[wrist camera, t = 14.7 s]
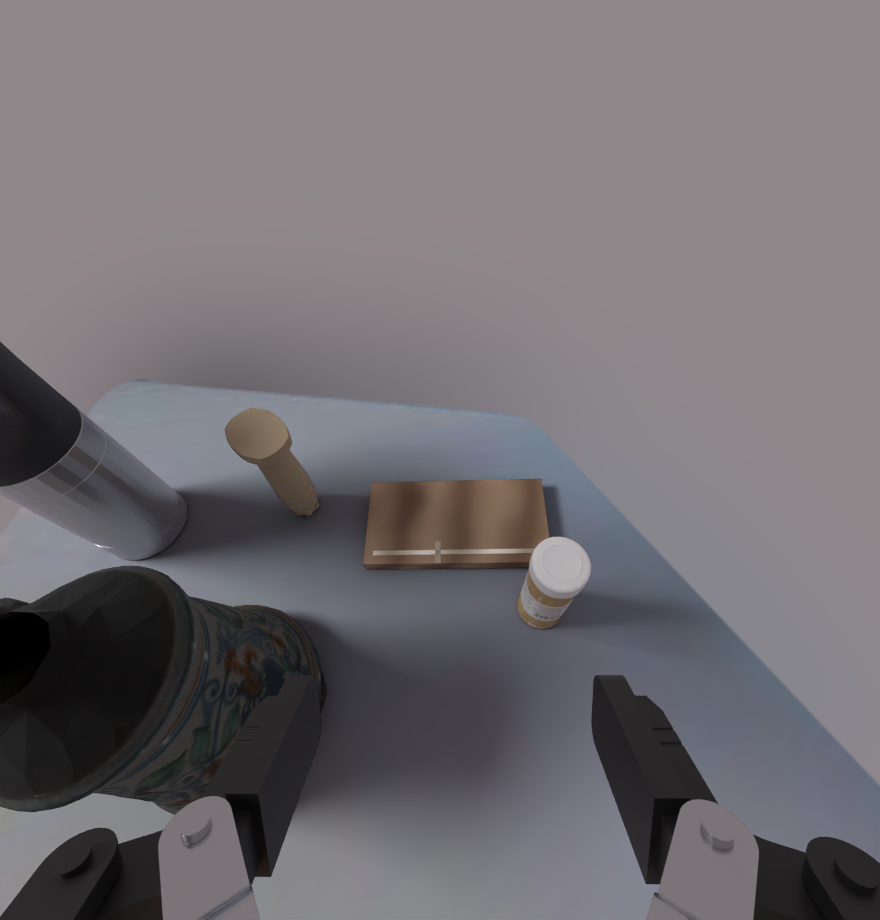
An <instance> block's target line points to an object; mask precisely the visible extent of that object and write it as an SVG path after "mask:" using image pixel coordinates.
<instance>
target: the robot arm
mask: <svg viewBox="0 0 880 920" xmlns="http://www.w3.org/2000/svg"><path fill="white" fill-rule="evenodd" d="M0 495H1V496H3V497H5V498H6V499H8V500H10V501H13V502H15V503H16V504H19V505H20V506H22V507H24V508H26V509H28V510H30V511H32V512H34V513H36V514H38V515H39V516H41V517H43V518H45V519H47V520H49V521H51V522H53V523H55V524H57V525H59V526H60V527H62V528H64V529H66V530H68V531H70V532H72V533H74V534H76V535H78V536H80V537H82V538H84V539H85V540H87V541H89V542H91V543H93V544H95V545H97V546H99V547H101V548H103V549H105V550H107V551H109V552H111V553H113V554H114V555H116V556H118V557H120V558H122V559H127V560H140V559H145V558H148V557H151V556H153V555H155V554H157V553H159V552H161V551H162V550H164V549H165V548H166V547H168V546H169V545H170V544H171V543H172V542H173V541H174V540H175V539H176V538H177V537H178V535H179V534H180V532H181V531H182V529H183V527H184V525H185V522H186V518H187V506H186V502H185V501H184V499H183V498H182V497H181V496H180V495H179V494H178V493H177V492H176V491H174V490H173V489H172V488H171V487H170V486H169V485H167V484H166V483H165V482H164V481H163V480H162V479H161V478H159V477H158V476H157V475H156V474H155V473H154V472H152V471H151V470H150V469H149V468H148V467H146V466H145V465H144V464H143V463H142V462H141V461H139V460H138V459H137V458H136V457H135V456H133V455H132V454H131V453H130V452H129V451H128V450H126V449H125V448H124V447H123V446H122V445H120V444H119V443H118V442H117V441H116V440H114V439H113V438H112V437H111V436H110V435H109V434H107V433H106V432H105V431H104V430H103V429H101V428H100V427H99V426H98V425H97V424H95V423H94V422H93V421H92V420H91V419H89V418H88V417H87V416H86V415H85V414H84V413H82V412H81V411H80V410H79V409H78V408H76V407H75V406H74V405H73V404H72V403H70V402H69V401H68V400H67V399H65V398H64V397H63V396H62V395H61V394H59V393H58V392H57V391H56V390H55V389H53V388H52V387H51V386H50V385H49V384H48V383H46V382H45V381H44V380H43V379H42V378H41V377H39V376H38V375H37V374H36V373H35V372H34V371H32V370H31V369H30V368H29V367H28V366H27V365H25V364H24V363H23V362H22V361H21V360H20V359H18V358H17V357H16V356H15V355H14V354H13V353H12V352H11V351H10V350H9V349H8V348H6V347H5V346H4V345H3V344H2V343H1V342H0ZM320 732H321V715H320V706H319V697H318V687H317V680H316V677H315V676H288V677H287V678H286V680H285V682H284V684H283V685H282V687H281V689H280V691H279V693H278V695H277V696H267V697H265V698H264V699H263V700H262V701H261V702H260V703H259V704H258V705H257V706H256V707H255V708H254V709H252V711H251V713H250V714H249V716H248V718H247V719H246V721H245V723H244V725H243V726H242V730H240V732H239V733H238V735H237V737H236V738H235V741H234V744H232V745H231V747H230V749H229V751H228V752H227V754H226V756H225V757H224V759H223V761H222V763H221V764H220V766H219V768H218V769H217V771H216V773H215V775H214V776H213V778H212V780H211V782H210V783H209V785H208V787H207V788H206V790H205V792H204V794H203V795H202V797H201V798H200V799H198V800H196V801H194V802H192V803H190V804H188V805H187V806H185V807H184V808H182V809H181V810H180V811H179V812H178V813H176V814H175V815H174V816H173V817H172V819H171V820H170V821H169V822H168V824H167V825H166V826H165V828H164V829H163V830H161V831H159V832H156V833H153V834H150V835H146V836H143V837H140V838H137V839H133V840H130V841H127V842H124V843H121V844H118V841H117V837H116V834H115V833H114V832H113V831H112V830H110V829H107V828H95V829H91V830H87V831H85V832H82V833H80V834H78V835H76V836H74V837H72V838H71V839H69V840H67V841H66V842H64V843H63V844H62V845H60V846H59V847H58V848H57V849H55V850H54V851H53V852H52V853H51V854H50V855H49V856H48V857H47V858H46V859H45V860H44V861H43V862H42V864H41V865H40V866H39V867H38V869H37V870H36V871H35V872H34V874H33V875H32V876H31V878H30V879H29V880H28V882H27V883H26V884H25V885H24V887H23V888H22V889H21V891H20V892H19V893H18V895H17V896H16V897H15V898H14V900H13V901H12V902H11V904H10V905H9V906H8V908H7V909H6V910H5V911H4V913H3V914H2V915H1V917H0V920H260V917H259V913H258V909H257V905H256V901H255V897H254V893H253V889H252V887H251V885H252V883H253V880H254V877H271V875H272V872H273V870H274V867H275V864H276V861H277V858H278V856H279V853H280V850H281V847H282V844H283V842H284V839H285V836H286V833H287V830H288V827H289V825H290V822H291V819H292V816H293V813H294V811H295V808H296V805H297V802H298V799H299V797H300V794H301V791H302V788H303V785H304V782H305V780H306V777H307V774H308V771H309V768H310V766H311V763H312V760H313V757H314V754H315V752H316V749H317V746H318V742H319V738H320ZM592 733H593V738H594V743H595V746H596V749H597V752H598V755H599V757H600V760H601V763H602V765H603V768H604V771H605V774H606V776H607V779H608V782H609V785H610V787H611V790H612V793H613V795H614V798H615V801H616V804H617V806H618V809H619V812H620V815H621V817H622V820H623V823H624V825H625V828H626V831H627V834H628V836H629V839H630V842H631V845H632V847H633V850H634V853H635V855H636V858H637V861H638V864H639V866H640V869H641V872H642V875H643V877H644V880H645V883H646V884H660V886H659V890H658V893H654V895H653V898H652V901H651V904H650V908H649V911H648V915H647V919H646V920H880V863H879V862H877V861H876V860H875V859H874V858H872V857H871V856H870V855H868V854H867V853H865V852H864V851H862V850H860V849H859V848H857V847H855V846H853V845H851V844H849V843H847V842H844V841H842V840H839V839H835V838H831V837H818V838H814V839H813V840H811V841H810V842H809V843H808V846H807V849H806V853H805V852H802V851H799V850H795V849H792V848H789V847H786V846H783V845H779V844H776V843H773V842H770V841H767V840H764V839H762V838H760V837H757V836H755V835H753V834H752V832H751V831H750V830H749V828H748V827H747V826H746V824H745V823H744V822H743V821H742V820H741V819H740V818H739V817H737V816H736V815H735V814H734V813H732V812H731V811H730V810H728V809H726V808H725V807H723V806H721V805H719V804H718V803H717V801H716V800H715V798H714V796H713V795H712V793H711V791H710V790H709V788H708V786H707V785H706V783H705V781H704V779H703V778H702V776H701V774H700V773H699V771H698V769H697V768H696V766H695V764H694V763H693V761H692V759H691V758H690V756H689V754H688V753H687V751H686V749H685V748H684V746H682V744H681V741H680V739H679V738H678V736H677V734H676V732H675V731H673V727H672V726H671V724H670V722H669V721H668V719H667V717H666V716H665V714H664V712H663V711H662V710H661V709H660V708H659V707H658V706H657V705H656V704H655V703H653V702H652V701H651V700H650V699H649V698H648V697H647V696H635V695H634V694H633V692H632V690H631V688H630V686H629V684H628V682H627V681H626V679H625V677H624V676H622V675H596V676H595V677H594V684H593V702H592Z"/></svg>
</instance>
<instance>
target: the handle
mask: <svg viewBox="0 0 880 920" xmlns="http://www.w3.org/2000/svg"><path fill="white" fill-rule="evenodd" d="M225 434H226V438H227V441H228V443H229V445H230V446H231V448H232V449H233V450H234V451H235V452H236V453H237V454H238V455H239V456H240V457H241V458H242V459H244V460H245V461H247V462H249V463H252V464H257V465H258V467H259V468H260V470H261V471H262V473H263V474H264V476H265V478H266V479H267V481H268V482H269V484H270V485H271V487H272V489H273V490H274V492H275V493H276V494H277V495H278V497H279V498H280V499H281V500H282V501H283V502H284V503H285V504H286V505H287V506H288V507H289V508H290V509H291V510H292V511H293V512H294V513H295V514H297V515H306V516H311V515H312V513H313V512H314V511H315V510H317V509H318V508H319V503H318V501H317V498H318V497H317V494H316V491H315V488H314V486H313V484H312V481H311V480H310V478H309V476H308V474H307V473H306V471H305V470H304V469H303V467H302V466H301V465H300V463H299V462H298V461H297V459H296V458H295V457H294V455H293V454H292V453H291V451H290V450H289V449H290V447H291V445H292V440H291V437H290V434H289V431H288V429H287V427H286V425H285V424H284V422H283V421H282V420H281V419H280V418H279V417H278V416H276V415H275V414H274V413H272V412H270V411H267V410H263V409H257V408H250V409H247V410H244V411H242V412H241V413H239V414H238V415H236V416H235V417H234V418H232V419H231V420H230V422H229V423H228V424H227V426H226V428H225Z"/></svg>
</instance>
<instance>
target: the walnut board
mask: <svg viewBox="0 0 880 920" xmlns="http://www.w3.org/2000/svg"><path fill="white" fill-rule="evenodd" d="M547 538H549V531H548V523H547V516H546V509H545V502H544V495H543V488H542V480H541V479H511V480H467V481H423V482H378V483H371V492H370V502H369V511H368V521H367V531H366V540H365V550H364V559H363V565H364V567H365V568H366V570H392V569H470V568H529V563H530V559H531V556H532V554H533V551H534V549H535V548H536V546H537V545H538V544H539V543H540V542H542V541H543V540H545V539H547Z"/></svg>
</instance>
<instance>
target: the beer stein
mask: <svg viewBox="0 0 880 920" xmlns="http://www.w3.org/2000/svg"><path fill="white" fill-rule="evenodd" d="M288 676H315V677H316V680H317V687H318V697H319V706H320V715H321V712H322V708H323V705H324V701H325V697H326V694H327V688H326V684H325V681H324V677H323V674H322V670H321V667H320V663H319V659H318V656H317V652H316V649H315V647H314V646H313V644H312V642H311V640H310V638H309V636H308V634H307V633H306V632H305V630H304V629H303V628H302V626H301V625H300V624H298V623H297V622H296V621H295V620H294V619H293V618H291V617H290V616H288V615H287V614H285V613H284V612H282V611H280V610H277V609H273V608H270V607H266V606H260V605H242V606H235V607H231V606H227V605H223V604H219V603H215V602H211V601H206V600H203V599H199V598H194V597H190V596H188V595H187V594H186V593H185V592H184V590H183V589H182V588H181V587H180V586H179V585H178V584H177V583H176V582H174V581H173V580H172V579H171V578H170V577H169V576H167V575H165V574H163V573H161V572H159V571H156V570H153V569H150V568H146V567H140V566H120V567H114V568H107V569H103V570H100V571H96V572H93V573H90V574H87V575H85V576H83V577H81V578H79V579H76V580H74V581H72V582H70V583H68V584H66V585H63V586H61V587H59V588H57V589H56V590H54V591H52V592H50V593H49V594H47V595H45V596H43V597H42V598H40V599H38V600H36V601H35V602H33V603H30V604H29V603H26V602H23V601H19V600H15V599H11V598H3V599H0V807H4V808H7V809H11V810H16V811H24V812H37V811H43V810H50V809H55V808H59V807H63V806H66V805H68V804H70V803H73V802H75V801H78V800H80V799H82V798H84V797H86V796H88V795H90V794H93V793H99V794H107V795H114V796H118V797H125V798H132V799H139V800H144V801H152V802H154V803H155V804H156V805H157V806H159V807H160V808H162V809H164V810H165V811H168V812H170V813H172V814H174V815H175V814H176V813H178V812H179V811H180V810H181V809H182V808H184V807H185V806H187V805H188V804H190V803H192V802H194V801H196V800H198V799H200V798H201V797H202V795H203V794H204V792H205V790H206V788H207V787H208V785H209V783H210V782H211V780H212V778H213V776H214V775H215V773H216V771H217V769H218V768H219V766H220V764H221V763H222V761H223V759H224V757H225V756H226V754H227V752H228V751H229V749H230V747H231V745H232V744H234V741H235V738H236V737H237V735H238V733H239V732H240V730H242V726H243V725H244V723H245V721H246V719H247V718H248V716H249V714H250V713H251V711H252V709H254V708H255V707H256V706H257V705H258V704H259V703H260V702H261V701H262V700H263V699H264V698H265V697H267V696H277V695H278V693H279V691H280V689H281V687H282V685H283V684H284V682H285V680H286V678H287V677H288Z"/></svg>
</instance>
